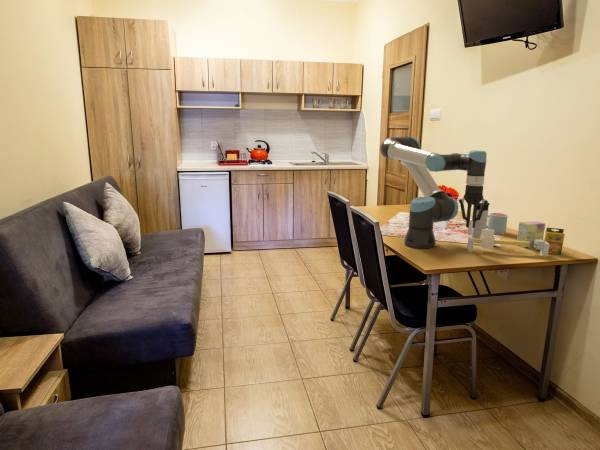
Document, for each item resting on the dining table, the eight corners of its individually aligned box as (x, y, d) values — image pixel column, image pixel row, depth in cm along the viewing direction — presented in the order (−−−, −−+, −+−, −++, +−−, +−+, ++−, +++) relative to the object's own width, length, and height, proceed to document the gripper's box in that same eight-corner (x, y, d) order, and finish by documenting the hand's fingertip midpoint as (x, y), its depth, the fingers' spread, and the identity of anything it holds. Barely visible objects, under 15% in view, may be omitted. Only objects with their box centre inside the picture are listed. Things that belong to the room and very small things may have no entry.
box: (533, 243, 208) (536, 220, 206) (542, 246, 203) (545, 223, 200) (515, 244, 206) (518, 221, 203) (524, 248, 201) (527, 224, 198)
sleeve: (481, 247, 193) (483, 230, 191) (479, 244, 197) (481, 228, 196) (493, 247, 192) (495, 231, 190) (490, 245, 196) (492, 228, 194)
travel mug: (486, 243, 209) (491, 204, 204) (472, 242, 210) (477, 203, 205) (483, 239, 215) (488, 202, 210) (470, 239, 216) (474, 201, 211)
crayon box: (543, 252, 194) (547, 228, 191) (542, 250, 196) (545, 227, 193) (561, 254, 191) (565, 230, 188) (560, 252, 194) (563, 228, 191)
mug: (505, 231, 232) (507, 213, 229) (505, 235, 224) (507, 217, 221) (479, 228, 238) (481, 211, 235) (477, 232, 230) (479, 214, 227)
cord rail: (468, 251, 195) (469, 237, 193) (467, 249, 199) (468, 235, 197) (547, 256, 188) (549, 241, 186) (544, 253, 192) (546, 239, 190)
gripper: (460, 185, 187) (456, 235, 193) (491, 186, 184) (485, 237, 190) (458, 183, 194) (453, 231, 200) (488, 184, 192) (482, 233, 197)
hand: (469, 234), depth 195 cm, fingers closed
